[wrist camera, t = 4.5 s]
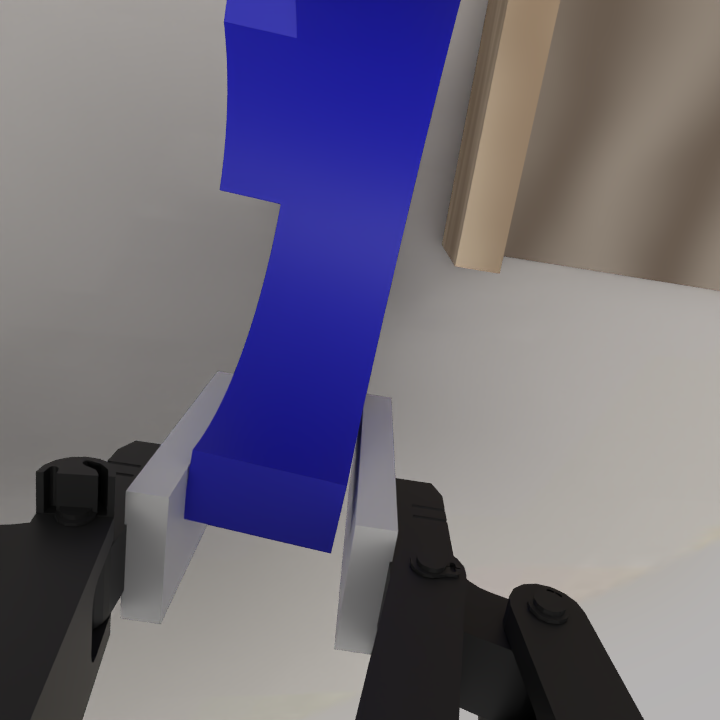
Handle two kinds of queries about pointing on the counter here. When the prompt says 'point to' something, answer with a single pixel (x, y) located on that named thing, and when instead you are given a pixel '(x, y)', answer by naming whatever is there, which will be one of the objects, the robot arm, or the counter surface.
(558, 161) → the corner board
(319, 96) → the cable clip
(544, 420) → the counter surface
